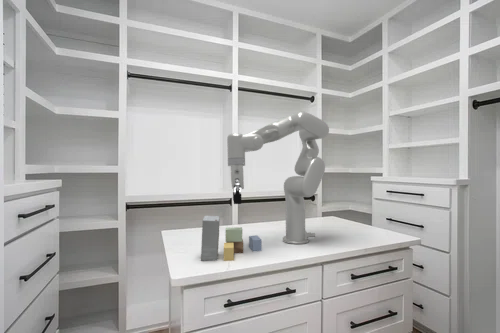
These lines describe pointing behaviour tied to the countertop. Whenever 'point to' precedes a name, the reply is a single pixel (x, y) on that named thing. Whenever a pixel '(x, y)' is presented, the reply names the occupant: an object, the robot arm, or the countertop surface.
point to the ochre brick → (228, 251)
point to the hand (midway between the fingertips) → (237, 202)
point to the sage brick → (234, 234)
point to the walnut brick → (237, 247)
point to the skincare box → (210, 238)
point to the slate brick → (255, 243)
